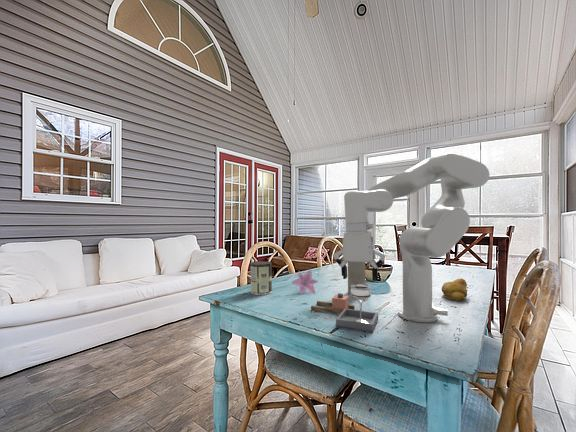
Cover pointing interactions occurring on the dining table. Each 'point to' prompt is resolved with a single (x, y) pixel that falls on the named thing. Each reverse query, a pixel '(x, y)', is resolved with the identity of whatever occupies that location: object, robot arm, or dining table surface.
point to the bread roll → (455, 289)
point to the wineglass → (360, 296)
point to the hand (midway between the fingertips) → (359, 279)
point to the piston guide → (328, 310)
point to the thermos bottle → (356, 274)
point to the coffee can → (261, 277)
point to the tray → (348, 321)
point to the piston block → (340, 302)
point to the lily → (305, 282)
